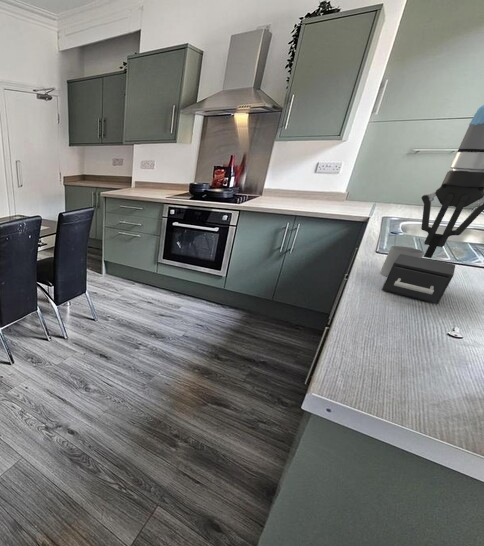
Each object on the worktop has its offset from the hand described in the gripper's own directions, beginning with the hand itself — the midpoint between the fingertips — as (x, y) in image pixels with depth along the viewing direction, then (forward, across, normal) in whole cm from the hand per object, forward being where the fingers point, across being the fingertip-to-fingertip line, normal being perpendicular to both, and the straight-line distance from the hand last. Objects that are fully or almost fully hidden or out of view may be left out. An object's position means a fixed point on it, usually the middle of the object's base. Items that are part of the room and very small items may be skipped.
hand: (427, 256), depth 89 cm
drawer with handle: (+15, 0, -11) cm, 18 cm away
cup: (+15, +5, -25) cm, 30 cm away
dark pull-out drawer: (+14, 0, -6) cm, 15 cm away
